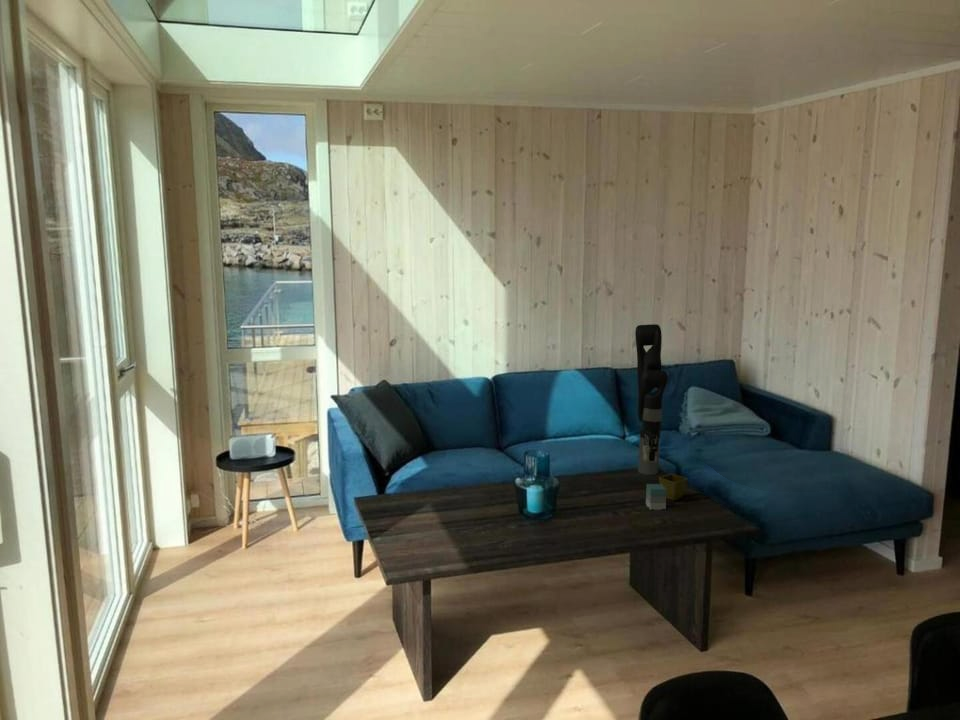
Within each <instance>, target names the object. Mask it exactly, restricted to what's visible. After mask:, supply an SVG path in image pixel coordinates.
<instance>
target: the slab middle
mask: <svg viewBox="0 0 960 720" xmlns="http://www.w3.org/2000/svg"><path fill="white" fill-rule="evenodd" d="M646 498H647V499H648V501H649V502H650V503H666V504H667V498H666V496H650V495H649V494H648V492H647V491H646V495H645V499H646Z"/></svg>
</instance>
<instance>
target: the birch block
mask: <svg viewBox="0 0 960 720" xmlns="http://www.w3.org/2000/svg"><path fill="white" fill-rule="evenodd" d="M653 449H654V447H653ZM643 460H644V461H645V462H657V452H655V460H654V461H649V446H643Z"/></svg>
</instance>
